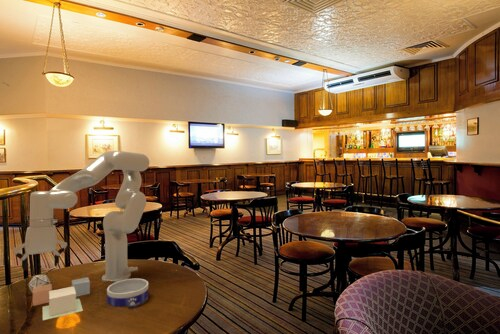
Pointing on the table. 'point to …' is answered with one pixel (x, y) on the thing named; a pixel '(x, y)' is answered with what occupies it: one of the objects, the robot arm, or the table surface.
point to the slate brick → (81, 286)
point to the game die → (38, 281)
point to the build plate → (47, 315)
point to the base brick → (62, 300)
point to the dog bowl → (128, 293)
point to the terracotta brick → (41, 294)
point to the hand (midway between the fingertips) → (40, 267)
